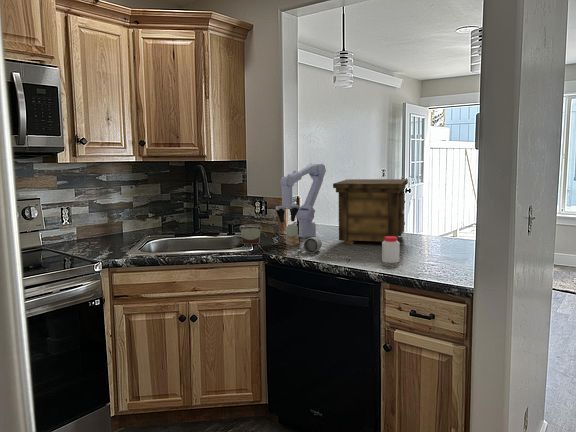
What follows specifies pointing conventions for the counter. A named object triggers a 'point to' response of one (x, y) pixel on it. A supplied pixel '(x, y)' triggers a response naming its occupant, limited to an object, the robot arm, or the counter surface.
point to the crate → (370, 209)
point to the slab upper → (292, 238)
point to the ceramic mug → (311, 245)
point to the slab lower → (292, 242)
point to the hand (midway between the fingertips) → (287, 221)
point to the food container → (250, 233)
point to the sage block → (291, 230)
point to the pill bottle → (390, 249)
